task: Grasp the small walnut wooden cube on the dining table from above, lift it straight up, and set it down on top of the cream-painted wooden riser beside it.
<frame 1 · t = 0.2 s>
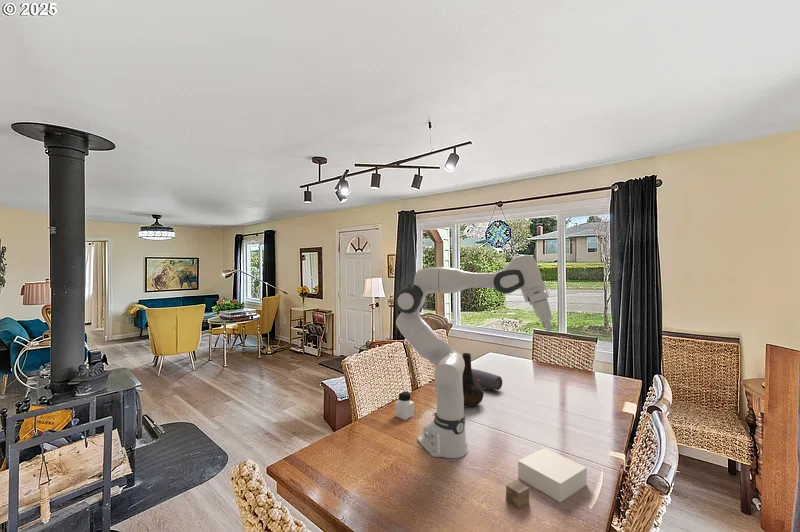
hand: (547, 328, 133), 52 cm above the table, tool tilted 20°, fingers open, 8 cm apart
bluetooth speaker: (482, 387, 218), on the table
walnut cube: (517, 502, 111), on the table
glass bottle: (466, 404, 191), on the table
riser: (551, 481, 122), on the table
medicine bottle: (404, 416, 176), on the table
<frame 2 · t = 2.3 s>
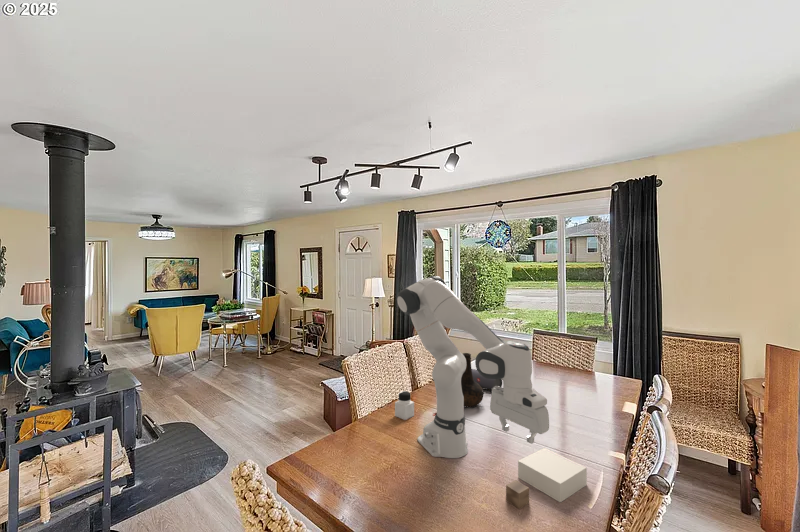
hand: (517, 436, 112), 21 cm above the table, tool pointing down, fingers open, 8 cm apart
nothing on the table moved.
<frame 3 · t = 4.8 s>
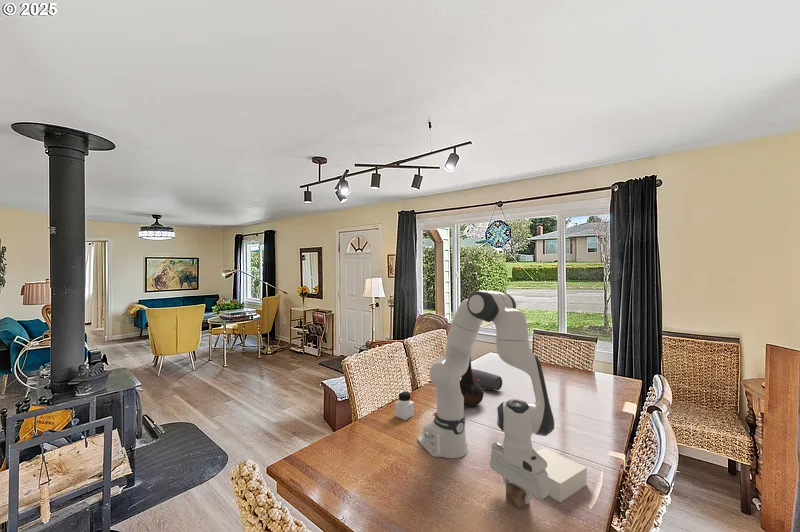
hand: (517, 496, 111), 2 cm above the table, tool pointing down, fingers closed on walnut cube, 5 cm apart
walnut cube: (517, 501, 111), on the table, touching gripper
everything else where it was.
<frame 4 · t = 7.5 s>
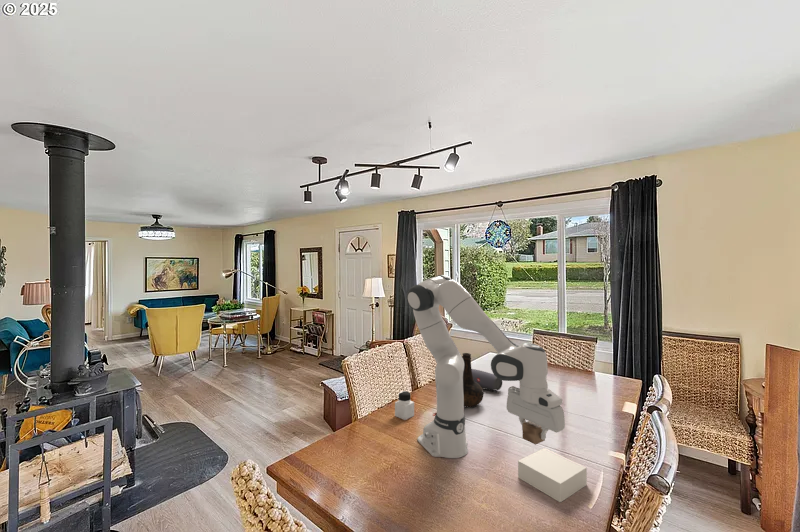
hand: (533, 434, 116), 19 cm above the table, tool pointing down, fingers closed on walnut cube, 5 cm apart
walnut cube: (533, 439, 116), point 18 cm above the table, touching gripper
everything else where it was.
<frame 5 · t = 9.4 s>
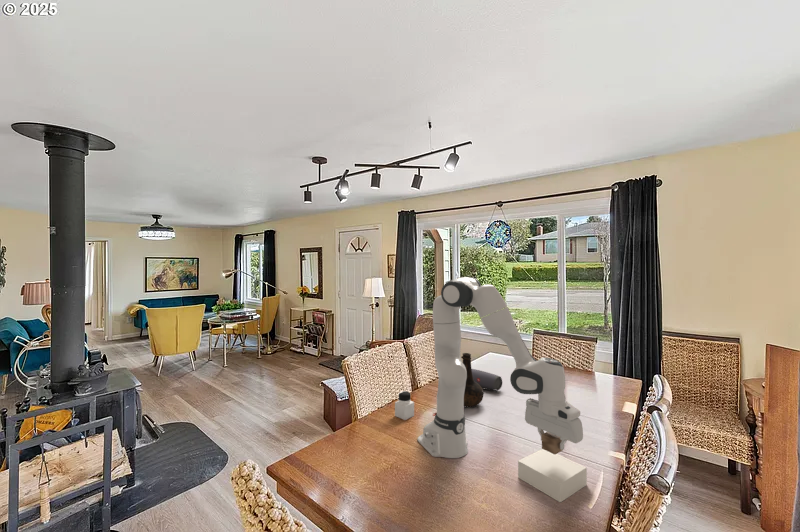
hand: (552, 444, 122), 13 cm above the table, tool pointing down, fingers closed on walnut cube, 5 cm apart
walnut cube: (552, 449, 122), point 11 cm above the table, touching gripper
everything else where it was.
when the fingers open (9 cm above the table, at t = 10.6 s): walnut cube stays where it is, resting on riser.
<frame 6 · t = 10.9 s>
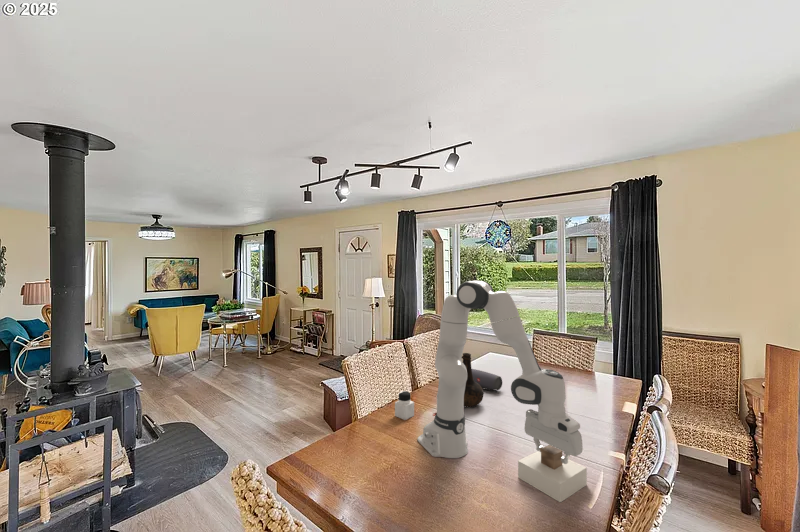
hand: (551, 456, 122), 9 cm above the table, tool pointing down, fingers open, 8 cm apart
walnut cube: (551, 464, 122), point 6 cm above the table, touching riser
everything else where it was.
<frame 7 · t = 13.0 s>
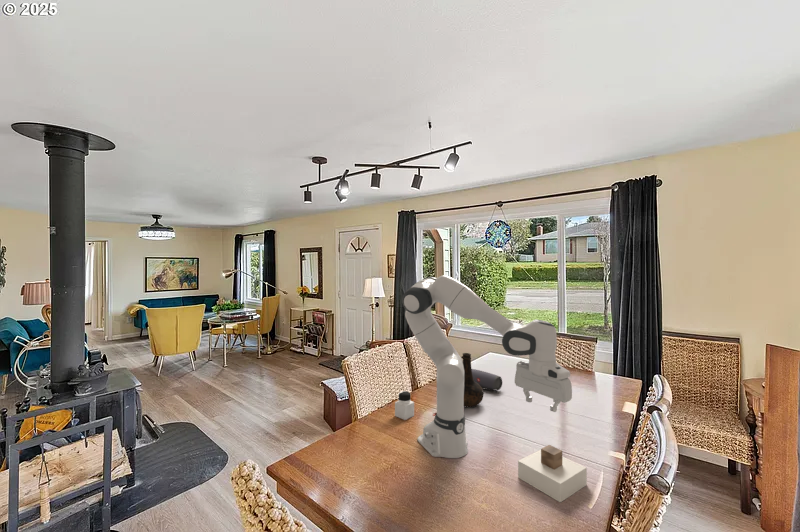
hand: (540, 406, 122), 26 cm above the table, tool pointing down, fingers open, 8 cm apart
nothing on the table moved.
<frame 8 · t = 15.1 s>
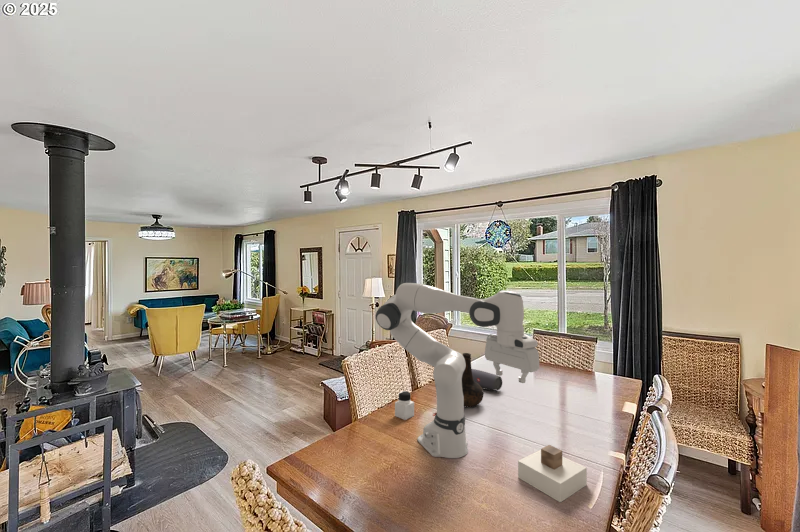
hand: (510, 378, 119), 37 cm above the table, tool pointing down, fingers open, 8 cm apart
nothing on the table moved.
at the end: walnut cube inside the target area on the riser (0.1 cm from its centre), point 6.0 cm above the riser's base; walnut cube tilted 0°; the gripper is holding nothing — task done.
